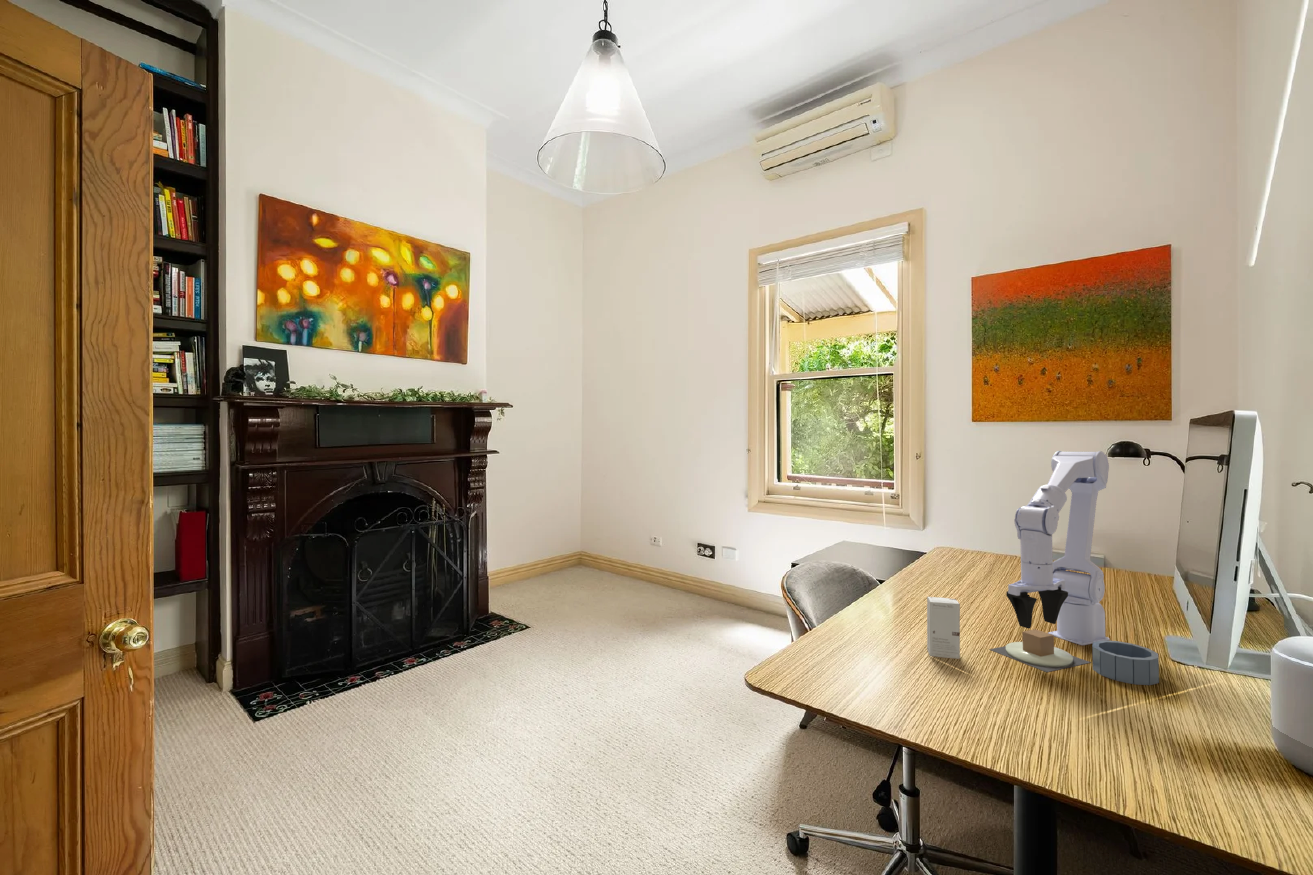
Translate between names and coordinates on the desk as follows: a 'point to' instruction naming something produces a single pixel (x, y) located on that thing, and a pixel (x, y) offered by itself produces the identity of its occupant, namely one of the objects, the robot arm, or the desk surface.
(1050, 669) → the mat
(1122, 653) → the bowl
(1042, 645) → the lid
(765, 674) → the desk surface
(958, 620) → the skincare box
